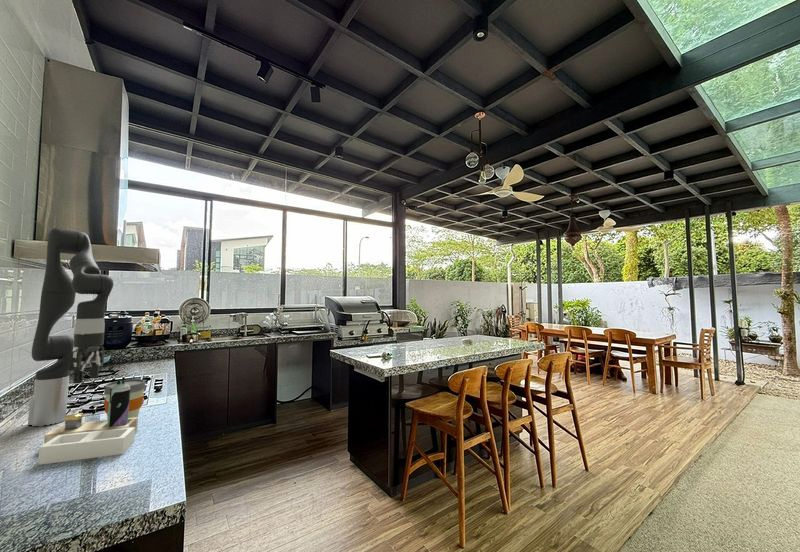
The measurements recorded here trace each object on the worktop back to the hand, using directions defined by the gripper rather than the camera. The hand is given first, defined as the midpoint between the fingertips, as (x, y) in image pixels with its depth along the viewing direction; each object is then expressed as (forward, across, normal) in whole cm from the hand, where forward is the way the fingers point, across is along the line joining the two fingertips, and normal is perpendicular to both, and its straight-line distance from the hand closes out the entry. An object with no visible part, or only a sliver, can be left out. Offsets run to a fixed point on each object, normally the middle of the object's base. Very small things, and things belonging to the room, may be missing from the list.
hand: (86, 380), depth 110 cm
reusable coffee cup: (+21, -20, +3) cm, 29 cm away
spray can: (+21, -3, +8) cm, 23 cm away
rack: (+21, +8, +6) cm, 23 cm away
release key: (+17, -2, -4) cm, 18 cm away
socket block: (+21, -3, +2) cm, 21 cm away
